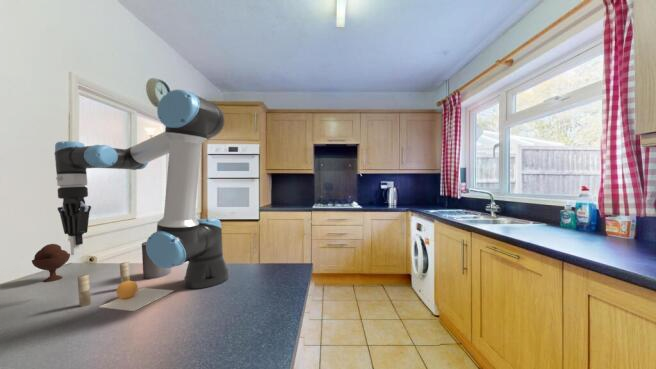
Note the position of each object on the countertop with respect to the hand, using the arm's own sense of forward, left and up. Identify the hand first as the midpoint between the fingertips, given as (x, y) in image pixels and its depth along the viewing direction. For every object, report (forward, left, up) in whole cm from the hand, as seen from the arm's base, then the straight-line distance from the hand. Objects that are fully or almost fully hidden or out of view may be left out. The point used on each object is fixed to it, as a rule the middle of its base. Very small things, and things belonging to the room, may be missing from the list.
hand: (77, 253), depth 92 cm
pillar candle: (-12, -20, -14) cm, 27 cm away
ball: (-22, 0, -11) cm, 25 cm away
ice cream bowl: (+31, -9, -14) cm, 35 cm away
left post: (-13, +6, -14) cm, 20 cm away
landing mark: (-27, 0, -14) cm, 30 cm away
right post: (-13, -6, -14) cm, 20 cm away
